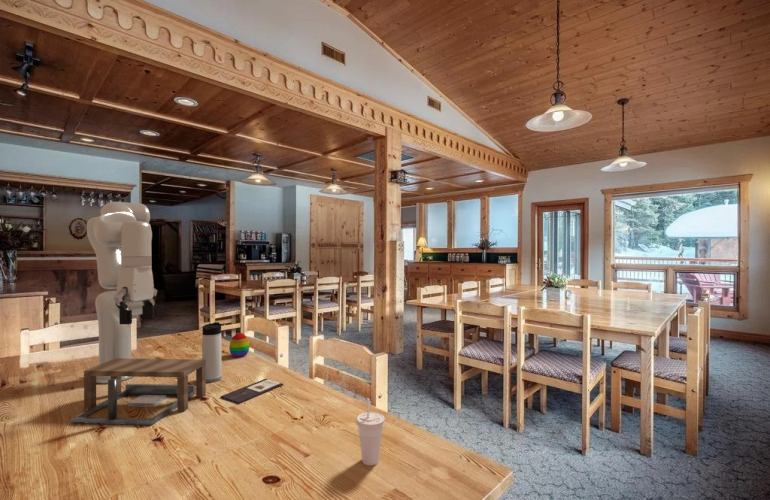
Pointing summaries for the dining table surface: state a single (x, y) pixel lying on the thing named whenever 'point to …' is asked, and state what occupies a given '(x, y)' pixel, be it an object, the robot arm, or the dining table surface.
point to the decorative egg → (239, 345)
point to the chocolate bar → (251, 391)
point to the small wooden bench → (148, 369)
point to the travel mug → (212, 351)
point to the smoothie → (370, 435)
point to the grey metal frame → (129, 390)
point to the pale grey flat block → (147, 400)
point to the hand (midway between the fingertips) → (137, 321)
